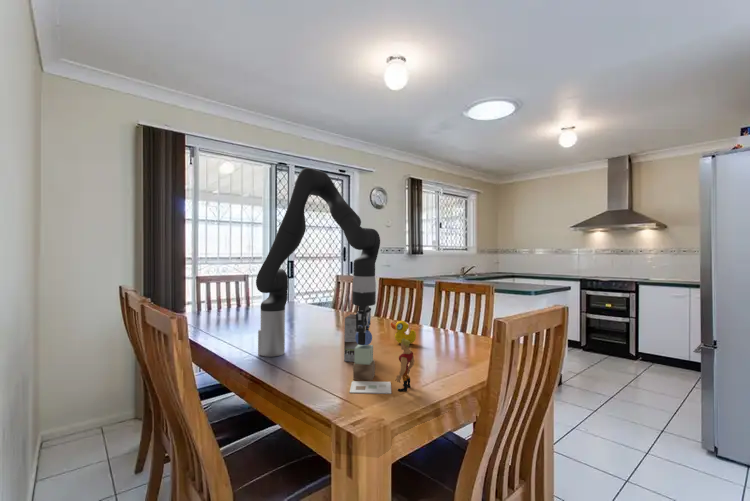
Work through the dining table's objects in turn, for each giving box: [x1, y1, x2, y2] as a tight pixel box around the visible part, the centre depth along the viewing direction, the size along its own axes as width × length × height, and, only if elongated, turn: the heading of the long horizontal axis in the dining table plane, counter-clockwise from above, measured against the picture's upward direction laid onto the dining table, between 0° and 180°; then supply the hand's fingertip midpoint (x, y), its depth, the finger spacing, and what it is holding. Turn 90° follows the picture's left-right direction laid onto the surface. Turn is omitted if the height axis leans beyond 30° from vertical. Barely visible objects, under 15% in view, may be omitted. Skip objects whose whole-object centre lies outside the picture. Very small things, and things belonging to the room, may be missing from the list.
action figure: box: [395, 338, 415, 392], centre depth 115 cm, size 10×4×15 cm, turn 156°
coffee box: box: [343, 313, 362, 363], centre depth 146 cm, size 9×6×16 cm
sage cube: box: [354, 344, 374, 365], centre depth 125 cm, size 5×5×5 cm
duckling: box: [390, 320, 417, 345], centre depth 169 cm, size 11×5×10 cm, turn 70°
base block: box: [352, 359, 376, 382], centre depth 125 cm, size 6×6×5 cm
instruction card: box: [349, 380, 392, 395], centre depth 115 cm, size 12×9×1 cm
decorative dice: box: [355, 330, 373, 345], centre depth 125 cm, size 4×4×4 cm
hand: (363, 342), depth 125 cm, fingers closed on decorative dice, 5 cm apart
